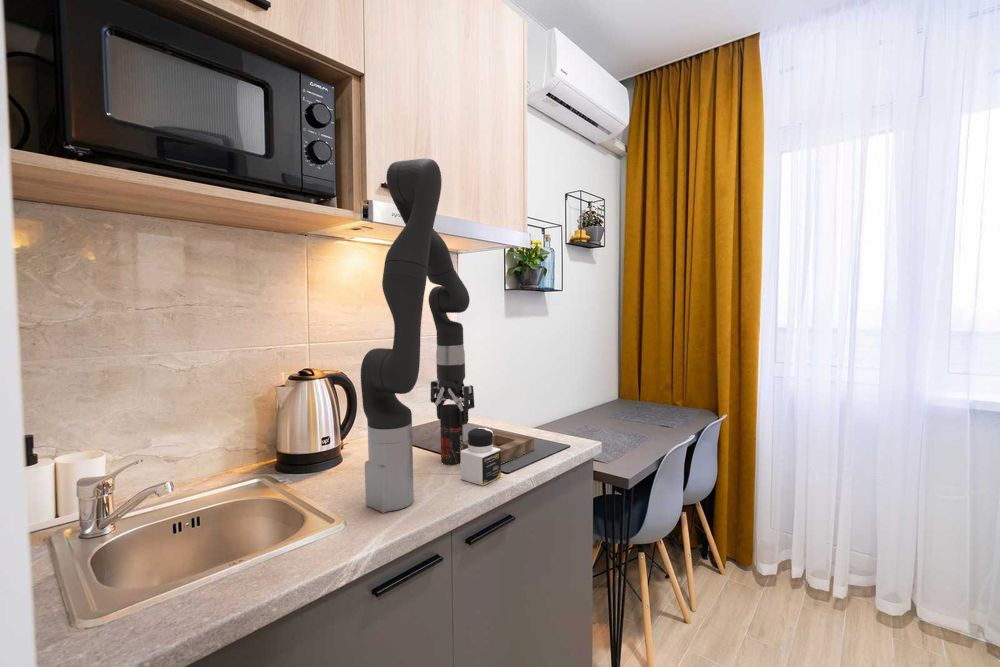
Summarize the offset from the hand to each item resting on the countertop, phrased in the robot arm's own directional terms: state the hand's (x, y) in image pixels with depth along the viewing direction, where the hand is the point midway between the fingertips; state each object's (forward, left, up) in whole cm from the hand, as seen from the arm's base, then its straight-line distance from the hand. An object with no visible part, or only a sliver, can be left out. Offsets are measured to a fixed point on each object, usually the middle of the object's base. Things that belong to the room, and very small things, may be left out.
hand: (452, 421), depth 126 cm
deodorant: (0, 0, -11) cm, 11 cm away
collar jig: (+13, -5, -11) cm, 17 cm away
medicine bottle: (-4, -14, -11) cm, 18 cm away
